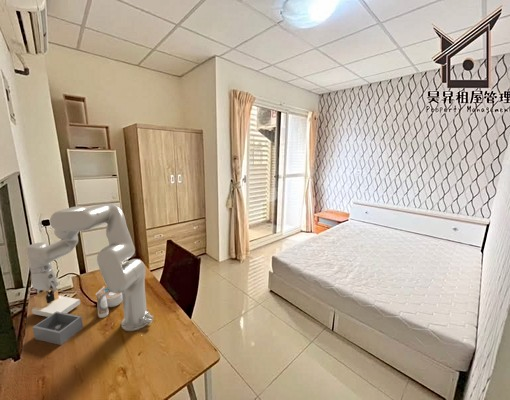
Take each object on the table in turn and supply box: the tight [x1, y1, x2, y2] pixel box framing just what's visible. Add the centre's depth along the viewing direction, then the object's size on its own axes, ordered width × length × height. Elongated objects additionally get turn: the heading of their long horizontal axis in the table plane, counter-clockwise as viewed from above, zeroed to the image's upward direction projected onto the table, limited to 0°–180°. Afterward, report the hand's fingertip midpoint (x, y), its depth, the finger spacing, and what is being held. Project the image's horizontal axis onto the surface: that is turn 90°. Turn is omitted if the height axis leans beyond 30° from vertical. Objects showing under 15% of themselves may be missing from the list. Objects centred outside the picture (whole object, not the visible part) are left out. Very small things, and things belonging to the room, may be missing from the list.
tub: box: [32, 311, 84, 346], centre depth 102 cm, size 14×10×6 cm
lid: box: [31, 289, 81, 318], centre depth 115 cm, size 15×11×8 cm
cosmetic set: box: [95, 262, 125, 319], centre depth 121 cm, size 25×9×19 cm, turn 1°
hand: (47, 300), depth 116 cm, fingers closed on lid, 3 cm apart
